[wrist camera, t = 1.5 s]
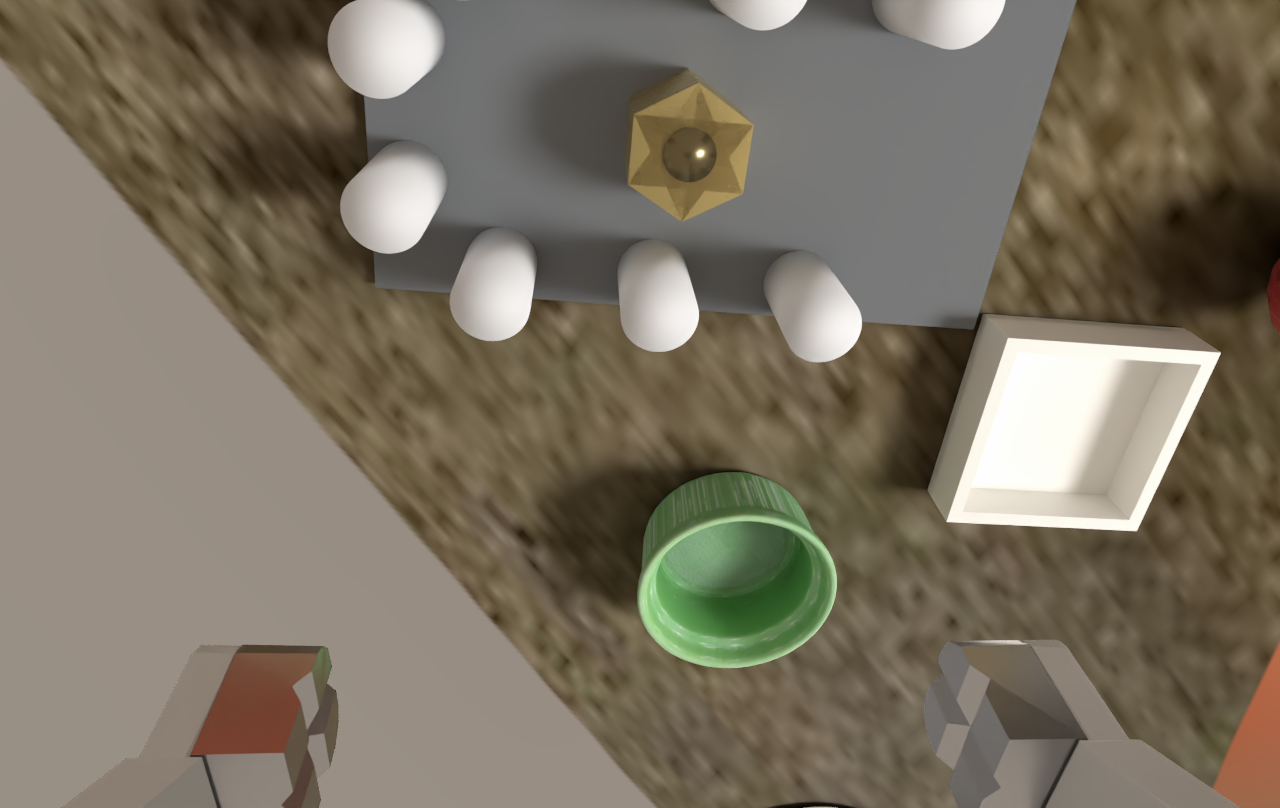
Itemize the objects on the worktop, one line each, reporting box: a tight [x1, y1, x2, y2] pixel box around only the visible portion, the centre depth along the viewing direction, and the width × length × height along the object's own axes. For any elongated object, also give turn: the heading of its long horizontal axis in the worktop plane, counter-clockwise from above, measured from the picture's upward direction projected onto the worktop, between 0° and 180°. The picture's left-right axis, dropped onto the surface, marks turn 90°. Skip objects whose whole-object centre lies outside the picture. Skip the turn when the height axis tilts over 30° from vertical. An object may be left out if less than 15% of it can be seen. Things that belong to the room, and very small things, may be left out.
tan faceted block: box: [624, 68, 754, 222], centre depth 30 cm, size 5×4×4 cm
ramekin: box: [637, 472, 837, 668], centre depth 39 cm, size 9×9×4 cm
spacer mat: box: [328, 0, 1076, 362], centre depth 29 cm, size 17×25×5 cm
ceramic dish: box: [927, 314, 1221, 531], centre depth 38 cm, size 9×9×2 cm
